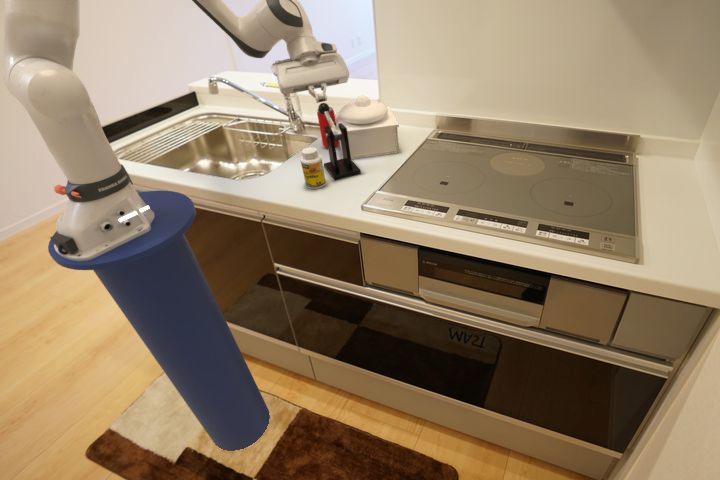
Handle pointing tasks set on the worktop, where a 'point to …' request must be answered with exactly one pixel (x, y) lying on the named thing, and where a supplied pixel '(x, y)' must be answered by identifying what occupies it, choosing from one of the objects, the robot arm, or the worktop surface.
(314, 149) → the supplement bottle
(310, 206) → the worktop surface
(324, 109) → the tap lever
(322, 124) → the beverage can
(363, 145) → the white box with dome
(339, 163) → the bracket
